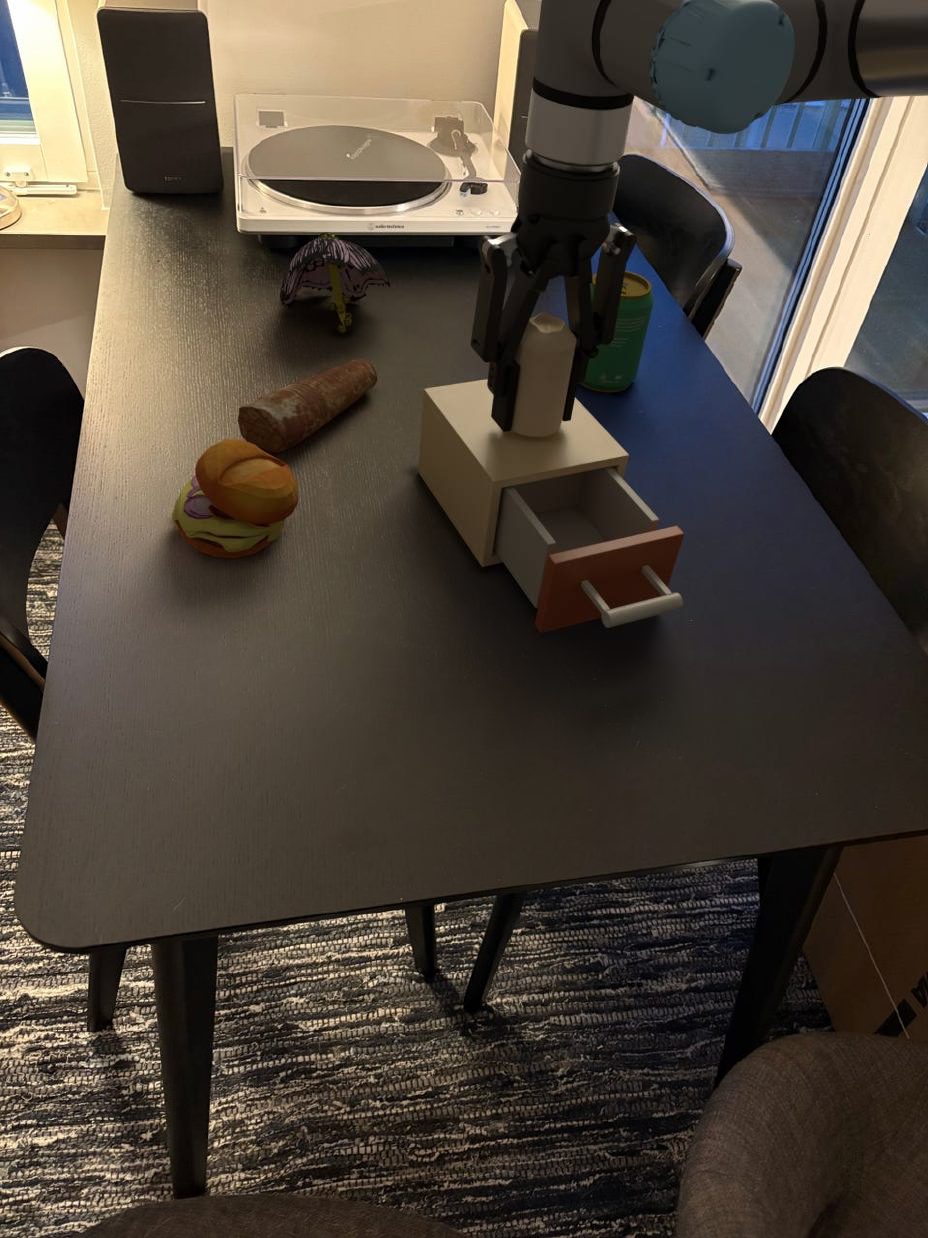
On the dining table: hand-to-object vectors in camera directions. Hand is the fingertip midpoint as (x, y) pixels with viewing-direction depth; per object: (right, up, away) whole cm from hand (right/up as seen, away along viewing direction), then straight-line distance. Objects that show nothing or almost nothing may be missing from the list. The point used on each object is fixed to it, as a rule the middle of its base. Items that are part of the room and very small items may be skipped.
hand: (531, 417), depth 89 cm
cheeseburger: (-27, -10, +2) cm, 29 cm away
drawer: (+4, -15, -1) cm, 16 cm away
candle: (0, 0, 0) cm, 0 cm away
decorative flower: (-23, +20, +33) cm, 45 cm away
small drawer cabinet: (-1, -7, +8) cm, 11 cm away
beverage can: (+11, +11, +29) cm, 32 cm away
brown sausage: (-23, +3, +16) cm, 28 cm away
